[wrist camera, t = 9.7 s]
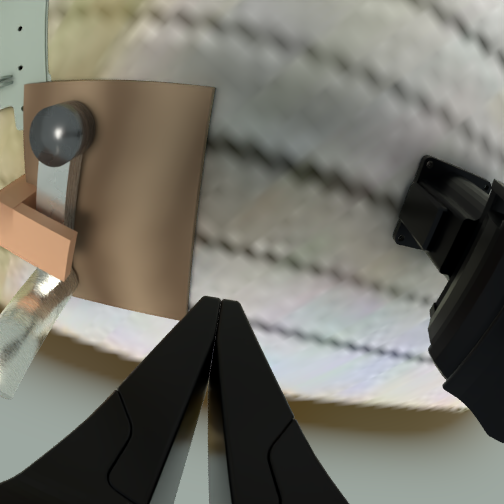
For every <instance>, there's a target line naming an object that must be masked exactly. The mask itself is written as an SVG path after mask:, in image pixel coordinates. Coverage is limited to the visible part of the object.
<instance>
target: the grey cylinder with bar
mask: <svg viewBox="0 0 504 504" xmlns="http://www.w3.org/2000/svg"><path fill="white" fill-rule="evenodd" d="M94 136H95V121H94V117H93V115H92V113H91V111H90V110H89V109H88V107H87V106H86V105H84V104H83V103H81V102H78V101H66V102H63V103H59V104H56V105H53V106H49V107H46V108H44V109H42V110H41V111H39V112H38V113H37V114H36V116H35V117H34V119H33V121H32V123H31V126H30V132H29V140H30V145H31V149H32V151H33V153H34V155H35V156H36V158H37V159H38V160H39V165H38V178H37V196H36V211H38V212H40V213H42V214H44V215H46V216H47V217H49V218H51V219H53V220H55V221H57V222H59V223H61V224H63V225H65V226H67V227H69V228H71V229H72V230H74V220H75V209H76V199H77V191H78V183H79V176H80V169H81V162H82V156H83V153H84V152H85V151H87V149H88V148H89V147H90V146H91V144H92V142H93V140H94ZM77 286H78V280H77V276H76V274H75V272H74V271H73V269H72V267H71V273H70V275H69V276H68V277H67V279H66V280H65V281H64V282H63V281H61V280H59V279H57V278H56V277H54V276H52V275H50V274H48V273H47V272H45V271H43V270H41V269H39V268H38V267H37V269H36V270H35V272H34V273H33V274H32V275H31V276H30V277H29V279H28V280H27V281H26V282H25V284H24V285H23V286H22V287H21V288H20V290H19V291H18V292H17V294H16V295H15V296H14V297H13V299H12V300H11V301H10V302H9V304H8V305H7V306H6V308H5V309H4V310H3V312H2V313H1V314H0V396H1V397H3V398H5V399H12V398H13V396H14V394H15V392H16V390H17V388H18V386H19V384H20V382H21V380H22V378H23V377H24V375H25V373H26V371H27V369H28V367H29V366H30V364H31V362H32V360H33V358H34V357H35V354H36V353H37V351H38V350H39V348H40V346H41V344H42V343H43V341H44V339H45V337H46V336H47V334H48V333H49V331H50V329H51V328H52V326H53V324H54V323H55V321H56V320H57V318H58V316H59V315H60V313H61V312H62V310H63V308H64V307H65V305H66V304H67V302H68V301H69V299H70V298H71V296H72V295H73V293H74V292H75V290H76V289H77Z"/></svg>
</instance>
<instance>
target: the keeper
mask: <svg viewBox="0 0 504 504" xmlns="http://www.w3.org/2000/svg"><path fill="white" fill-rule="evenodd" d="M36 196H37V186H35V185H32V184H30V183H27V182H26V174H24V175H23V176H21V177H19V178H18V179H16V180H15V181H13V182H12V183H10V184H9V185H7V186H6V187H4V188H3V189H1V190H0V245H1V246H2V247H4V248H5V249H7V250H9V251H10V252H12V253H14V254H15V255H17V256H19V257H20V258H22V259H24V260H25V261H27V262H29V263H31V264H32V265H34V266H36V267H38V268H39V269H41V270H43V271H45V272H47V273H48V274H50V275H52V276H54V277H56V278H57V279H59V280H61V281H63V282H64V281H65V280H66V279H67V277H68V276H69V275H70V273H71V267H72V261H73V255H74V249H75V244H76V239H77V234H78V232H76V231H74V230H72V229H71V228H69V227H67V226H65V225H63V224H61V223H59V222H57V221H55V220H53V219H51V218H49V217H47V216H46V215H44V214H42V213H40V212H38V211H36Z"/></svg>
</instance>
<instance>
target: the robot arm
mask: <svg viewBox="0 0 504 504" xmlns="http://www.w3.org/2000/svg"><path fill="white" fill-rule="evenodd" d="M428 161H430V162H431V163H430V165H429V166H427V162H428ZM485 185H486V187H485V188H484V186H485ZM491 189H492V191H491V193H490V195H489V192H490V190H491ZM399 218H400V219H399V222H398V224H397V227H396V229H395V232H394V234H393V239H394V241H395V242H396V243H397V244H399V245H403V246H408V247H412V248H417V249H421V250H423V251H425V252H426V253H427V255H428V256H429V258H430V259H431V260H432V262H433V263H434V265H435V266H436V268H437V269H438V270H439V272H440V273H441V274H444V275H445V277H446V278H447V280H448V283H447V285H446V286H445V288H444V290H443V292H442V293H441V295H440V297H439V299H438V300H437V302H436V303H434V304H433V305H432V307H431V309H430V317H431V319H430V323H429V327H428V332H429V338H430V343H431V345H430V346H429V348H428V351H429V354H430V356H431V358H432V360H433V362H434V364H435V366H436V367H437V368H438V370H439V371H440V373H441V374H442V376H443V377H444V378H445V379H446V382H445V383H444V384H443V389H444V390H446V391H447V392H449V393H450V394H452V395H454V396H455V397H457V398H458V399H459V400H461V401H462V402H463V403H464V404H465V405H466V406H467V407H468V408H469V409H470V410H471V411H472V413H473V414H474V415H475V417H476V418H477V419H478V421H479V422H480V424H481V425H482V427H483V428H484V430H485V431H486V433H487V434H488V435H489V436H490V437H492V438H494V439H496V440H498V441H500V442H502V443H504V184H503V183H501V182H499V181H497V180H495V179H494V181H493V183H492V186H491V184H490V182H489V181H487V180H486V179H484V178H481V177H479V176H477V175H475V174H473V173H470V172H468V171H466V170H463V169H461V168H459V167H456V166H454V165H452V164H449V163H447V162H444V161H442V160H439V159H437V158H434V157H432V156H428V155H427V156H424V157H423V158H422V160H421V163H420V166H419V169H418V171H417V174H416V177H415V180H414V183H412V184H411V186H410V189H409V192H408V194H407V197H406V200H405V202H404V205H403V208H402V210H401V213H400V215H399ZM400 235H403V236H402V237H401V238H400V239H398V237H399V236H400ZM220 304H221V306H220ZM219 311H220V312H219ZM218 317H219V318H218ZM217 323H218V324H217ZM215 336H216V337H215ZM214 342H215V343H214ZM213 349H214V350H213ZM212 355H213V356H212ZM211 361H212V363H211ZM210 368H211V369H210ZM209 374H210V376H209ZM208 380H209V384H208ZM207 386H208V473H209V474H208V476H209V504H349V503H348V502H347V500H346V499H345V497H344V496H343V495H342V493H341V492H340V491H339V489H338V488H337V486H336V485H335V484H334V482H333V481H332V480H331V478H330V477H329V475H328V474H327V472H326V471H325V469H324V468H323V466H322V465H321V463H320V462H319V460H318V459H317V457H316V456H315V454H314V452H313V450H312V449H311V447H310V445H309V443H308V442H307V440H306V438H305V436H304V434H303V433H302V430H301V428H300V426H299V425H298V422H297V420H295V419H294V415H293V413H292V411H291V409H290V407H289V405H288V403H287V401H286V398H285V396H284V394H283V392H282V390H281V388H280V386H279V384H278V382H277V380H276V378H275V376H274V374H273V372H272V370H271V368H270V366H269V364H268V362H267V359H266V357H265V355H264V353H263V351H262V349H261V347H260V345H259V343H258V341H257V338H256V336H255V334H254V332H253V330H252V328H251V326H250V324H249V321H248V319H247V317H246V315H245V313H244V311H243V308H242V306H241V304H240V303H239V302H238V301H233V300H227V299H223V300H222V301H221V300H220V299H219V298H216V297H210V296H203V297H202V298H201V299H200V300H199V301H198V302H197V303H196V304H195V305H194V307H193V308H192V309H191V310H190V311H189V312H188V313H187V314H186V315H185V316H184V317H183V318H182V319H181V320H180V321H179V322H178V324H177V325H176V326H175V327H174V328H173V329H172V330H171V331H170V332H169V333H168V334H167V335H166V336H165V337H164V338H163V340H162V341H161V342H160V343H159V344H158V345H157V346H156V347H155V348H154V349H153V350H152V351H151V352H150V353H149V354H148V356H147V357H146V358H145V359H144V360H143V361H142V362H141V363H140V364H139V365H138V366H137V367H136V368H135V369H134V371H133V372H132V373H131V374H130V375H129V376H128V377H127V378H126V379H125V380H124V381H123V382H122V383H121V384H120V385H119V387H118V388H117V389H118V391H117V390H115V391H114V392H113V393H112V394H111V395H110V396H109V397H108V398H107V399H106V400H105V402H103V403H102V404H101V405H100V406H99V407H98V408H97V409H96V410H95V411H94V412H93V413H92V414H91V415H90V416H89V417H88V418H87V419H86V420H85V421H84V422H83V423H82V424H80V425H79V426H78V427H77V428H76V429H75V430H73V431H72V432H71V433H70V434H69V435H68V436H66V437H65V438H64V439H63V440H61V441H60V442H59V443H58V444H57V445H55V446H54V447H53V448H52V449H50V450H49V451H48V452H47V453H45V454H44V455H43V456H42V457H40V458H39V459H38V460H36V461H35V462H34V463H33V464H31V465H30V466H29V467H27V468H26V469H25V470H23V471H22V472H21V473H19V474H17V475H16V476H14V477H12V478H10V479H8V480H6V481H3V482H1V483H0V504H174V500H175V497H176V493H177V490H178V486H179V483H180V479H181V476H182V473H183V469H184V466H185V462H186V459H187V455H188V452H189V448H190V445H191V442H192V438H193V435H194V431H195V428H196V424H197V421H198V417H199V414H200V410H201V407H202V404H203V401H204V397H205V394H206V389H207Z"/></svg>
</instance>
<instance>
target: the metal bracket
mask: <svg viewBox="0 0 504 504" xmlns="http://www.w3.org/2000/svg"><path fill="white" fill-rule="evenodd" d="M48 2H49V0H0V109H3V108H6V107H9V106H12V107H13V108H14V114H15V122H16V128H17V129H18V130H23V110H22V107H23V101H24V84H30V83H39V82H48V81H51V75H50V74H49V72H48V47H47V29H48ZM21 26H22V30H21V31H19V28H20V27H21ZM21 65H22V66H23V68H22V70H19V67H20V66H21Z"/></svg>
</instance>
